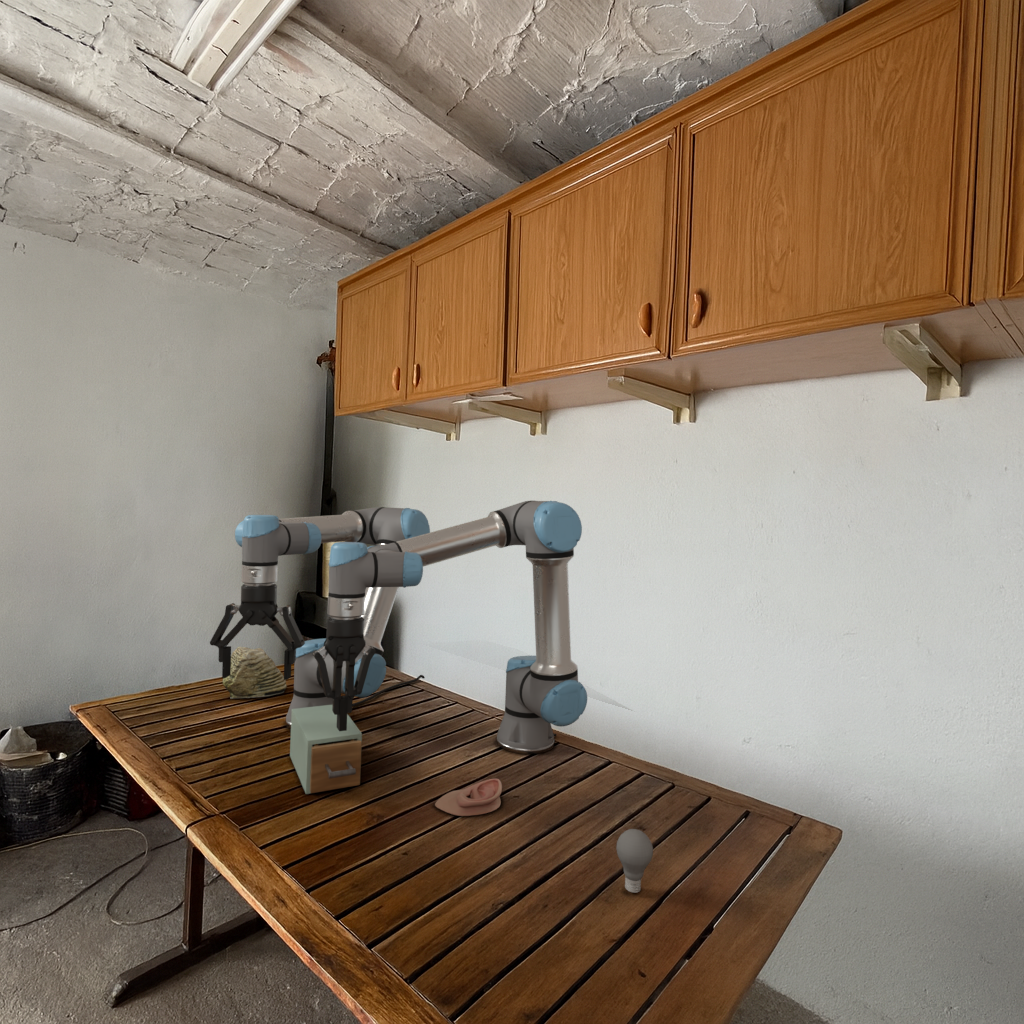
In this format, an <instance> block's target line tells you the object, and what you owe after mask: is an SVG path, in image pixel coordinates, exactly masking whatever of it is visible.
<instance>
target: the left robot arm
mask: <svg viewBox="0 0 1024 1024" xmlns="http://www.w3.org/2000/svg"><path fill="white" fill-rule="evenodd" d="M430 532H431V528H430V523H429V520H428V517H427V516H426V514H425V513H423V511H421V510H419V509H415V508H411V507H388V506H387V507H385V506H376V507H368V508H367V507H366V508H362V509H354V510H346V511H344V512H343V513H342V514H332V515H331V514H330V515H315V516H300V517H286V518H279V517H278V516H277V515H275V514H274V515H273V514H248V515H246V516H245V517H244V518H243V520H241V522H239V523H238V524H237V525H236V527H235V531H234V540H235V542H236V544H237V545H238V546H239V547H240V548H241V579H240V580H241V582H242V585H241V586H240V605H239V604H235V603H234V602H233V603H229V604H227V605H225V608H224V609H225V610H224V615H223V617H222V619H221V620H220V622H219V624H218V626H217V628H216V630H215V632H214V634H213V635H212V637H211V639H210V641H209V645H210V646H215V647H216V648H218V663H221V664H222V669H221V672H222V673H221V678H222V679H223V678H226V677H228V676H229V675H231V655H232V646H231V645H229V644H230V643H231V642H232V640H234V638H235V637H236V636H237V635H238V634H239V633H240V632H241V631H242V629H244V627H245V626H246V625H249V626H256V625H257V626H260V627H263V626H266V625H267V627H268V628H269V629H271V630H272V632H273V633H274V634H275V635H276V636H277V637H278V639H279V640H280V641H281V642H282V643H283V645H284V646H285V647H286V649H285V650H284V655H283V656H284V658H283V659H284V661H283V676H284V680H286V681H288V680H289V679H290V678H291V677H292V665H294V667H293V695H292V696H293V697H292V699H291V702H290V704H289V708H288V711H287V713H286V715H285V726H286V728H287V729H289V730H291V714H292V709H297V708H306V707H315V706H324V705H333V698H328V697H326V695H325V694H324V691H323V686H322V681H321V677H320V672H319V668H318V663H317V660H316V659H315V657H314V656H313V654H312V653H313V651H314V650H319V649H320V648H322V647H323V646H324V642H325V640H326V637H325V638H313V639H308V640H304V637H303V635H302V633H301V631H300V628H299V626H298V625H297V623H296V620H295V619H294V616H293V613H292V606H291V605H290V604H286V605H282V606H278V603H277V601H278V585H277V582H278V570H279V569H278V565H279V557H282V556H292V555H294V556H295V555H307V554H312V553H315V552H317V551H318V549H319V548H320V547H321V544H329V543H337V542H359V543H365V544H366V545H369V546H375V545H377V546H382V545H386V544H390V543H394V542H397V541H401V540H405V539H408V538H412V537H416V536H419V535H423V534H427V533H430ZM399 589H400V587H373V588H369V587H366V590H365V612H364V615H362V617H363V618H364V640H365V642H366V645H368V646H371V647H373V648H374V649H375V650H376V653H375V654H374V656H373V657H372V659H371V661H370V664H369V668H368V672H367V675H366V679H365V683H364V686H363V690H362V693H361V694H359V695H358V694H357V695H355V696H354V698H355V697H356V698H364V699H362V700H360V701H355V702H352V708H353V707H357V706H360V705H362V704H364V703H367V702H368V701H369V702H370V701H371V700H372V699H374V698H376V697H378V696H379V695H381V694H383V693H386V692H388V691H389V690H392V689H395V688H399V687H401V686H405V685H409V684H413V683H415V682H418V681H419V680H420V679H425V678H426V677H425V676H424V675H423V674H419V675H418V676H417V677H416V678H414V679H412V680H411V679H410V680H407V681H404V682H399V683H397V684H394V685H391V686H388V687H386V688H383V689H382V690H379V689H380V687H382V684H383V682H384V680H385V678H386V675H387V667H386V666H387V662H386V660H385V658H384V657H383V655H384V651H385V650H384V648H383V646H382V644H381V642H382V640H383V637H384V635H385V631H386V627H387V625H388V622H389V619H390V615H391V612H392V609H393V606H394V604H395V601H396V597H397V594H398V591H399ZM237 613H239V614H240V615H241V617H242V618H240V620H239V621H238V622H237V623H236V624H235V625H234V627H232V629H231V630H230V631H229V632H228V633H227V634H226V635H225V632H226V631H227V629H228V627H229V626H230V623H231V622H232V620H233V618H234V615H236V614H237ZM278 613H279V614H280V616H281V617H282V618H283V621H284V623H285V626H286V627H287V629H288V631H289V633H288V632H287V630H286V629H285V628H284V627H283V626H282V624H281V623H280V620H279V619H278V618H277V617H276V615H277V614H278ZM224 635H225V637H224ZM222 638H223V639H222ZM362 652H363V650H362V651H361V652H360V654H359V655H358V656H357V658H356V659H355V666H354V685H355V681H356V677H357V674H358V670H359V667H360V663H361V659H362V656H363V653H362ZM325 654H326V658H325V659H324V661H325V663H326V668H327V672H328V677H329V682H330V686H331V690H333V668H334V664H333V659H332V658H331V656H330V655H329V654H328V652H327V651H326V653H325ZM345 676H346V661H344V662H343V667H342V681H341V695H345ZM378 690H379V691H378ZM372 694H373V695H372Z"/></svg>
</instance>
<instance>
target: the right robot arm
mask: <svg viewBox="0 0 1024 1024" xmlns="http://www.w3.org/2000/svg"><path fill="white" fill-rule="evenodd" d="M582 534H583V526H582V521H581V518H580V516H579V514H578V513H577V511H576V510H575V509H574V508H573V507H572V506H570V505H569V504H567V503H564V502H560V501H558V500H557V501H556V500H524V501H521V502H518V503H515V504H512V505H509V506H505V507H503V508H499V509H497V510H493V511H490V512H489V513H488V515H487V516H486V517H483V518H479V519H476V520H471V521H468V522H464V523H460V524H456V525H453V526H450V527H445V528H442V529H439V530H435V531H430V533H427V534H423V535H419V536H416V537H412V538H408V539H405V540H401V541H397V542H394V543H390V544H386V545H382V546H377V545H369V546H368V544H365V543H359V542H345V541H338V542H333V544H332V545H331V546H330V552H329V562H328V591H327V595H328V596H327V613H326V614H327V616H328V618H327V619H326V635H325V636H326V637H325V638H326V640H325V642H324V646H323V647H322V648H320V649H319V650H314V651H313V653H312V654H313V656H314V657H315V659H316V660H317V663H318V668H319V672H320V677H321V681H322V686H323V691H324V694H325V695H326V697H328V698H333V706H332V711H333V713H334V715H337V729H338V730H339V731H347V714H352V712H353V707H352V704H353V703H354V702H353V700H354V699H355V697H354V696H355V695H357V694H358V695H359V694H361V693H362V690H363V686H364V683H365V679H366V675H367V672H368V668H369V664H370V661H371V659H372V657H373V656H374V654H375V653H376V650H375V649H374V648H373V647H371V646H368V645H366V642H365V640H364V618H363V617H362V615H364V612H365V590H366V587H369V588H373V587H399V588H408V587H416V586H418V585H420V583H421V581H422V579H423V575H424V573H423V572H424V567H426V566H430V565H434V564H437V563H440V562H444V561H448V560H451V559H454V558H459V557H461V556H465V555H469V554H471V553H475V552H477V551H482V550H485V549H489V548H492V547H497V548H498V549H503V548H506V547H507V548H508V547H512V546H525V558H526V559H527V560H528V561H529V562H530V563H531V565H532V585H533V588H532V589H533V611H534V636H535V637H534V638H535V640H534V641H535V655H518V656H512V657H510V658H509V659H508V660H507V663H506V668H505V669H506V670H505V673H506V674H505V699H504V700H505V701H504V713H503V716H502V719H501V722H500V725H499V727H498V731H497V732H496V744H497V746H499V748H501V749H503V750H505V751H507V752H511V753H515V754H520V755H537V754H542V753H543V754H544V753H546V752H549V751H550V750H552V749H553V748H554V746H555V737H556V738H557V736H558V734H557V733H554V731H553V727H552V725H553V726H556V727H561V728H562V727H567V726H570V725H572V724H574V723H575V722H577V721H578V720H579V718H580V717H581V715H583V714H584V712H585V711H586V707H587V704H588V692H587V689H586V687H585V686H584V685H583V684H582V683H581V682H580V681H579V672H578V671H579V669H578V665H577V663H576V662H574V661H573V660H572V651H571V650H572V643H571V616H570V587H569V584H570V583H569V562H570V561H571V560H572V559H573V558H574V557H575V548H576V547H577V545H578V543H579V542H580V541H581V538H582ZM362 650H363V652H362V653H363V656H362V659H361V663H360V667H359V670H358V674H357V677H356V681H355V685H354V666H355V659H356V658H357V656H358V655H359V654H360V652H361V651H362ZM326 651H327V652H328V654H329V655H330V656H331V658H332V659H333V664H334V668H333V690H331V686H330V682H329V677H328V672H327V668H326V663H325V661H324V659H325V658H326V654H325V653H326ZM344 661H346V676H345V694H344V695H342V693H341V681H342V667H343V662H344Z"/></svg>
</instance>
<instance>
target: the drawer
mask: <svg viewBox="0 0 1024 1024" xmlns="http://www.w3.org/2000/svg"><path fill="white" fill-rule="evenodd" d="M362 742H363V741H362ZM362 742H361V740H357V741H354V739H350V740H343V741H335V742H328V743H321V744H314V745H312V747H311V772H310V792H311V793H310V794H315V793H321V791H322V792H327V791H333V790H338V789H345V788H350V786H351V787H355V786H360V785H361V770H360V768H361V769H362V746H361V743H362Z"/></svg>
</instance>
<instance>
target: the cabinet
mask: <svg viewBox="0 0 1024 1024" xmlns="http://www.w3.org/2000/svg"><path fill="white" fill-rule="evenodd" d="M332 706H333V705H324V706H315V707H306V708H297V709H292V714H291V729H290V740H289V741H290V744H289V757H290V759H291V762H292V764H293V767H294V769H295V772H296V774H297V776H298V779H299V782H300V784H301V786H302V789H303V791H304V793H305V795H309V794H312V793H311V792H310V772H311V747H312V745H314V744H321V743H328V742H335V741H343V740H350V739H354V741H357V740H361V742H363V733H362V732H361V730H360V729H359V727H358V726H357V724H356V723H355V722H354V721H353V720H352V718H351V716H350V714H349V713H347V731H339V730H338V729H337V715H334V713H333V711H332ZM361 747H362V743H361ZM361 769H362V767H361V768H360V771H361ZM350 787H352V786H350ZM350 787H349V788H350ZM321 792H323V791H321ZM321 792H320V793H321Z"/></svg>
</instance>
